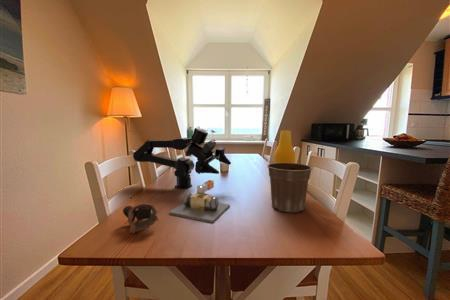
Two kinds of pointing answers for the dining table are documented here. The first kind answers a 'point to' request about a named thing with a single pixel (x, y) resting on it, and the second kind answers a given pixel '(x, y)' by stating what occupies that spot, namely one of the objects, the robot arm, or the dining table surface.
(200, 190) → the valve lever
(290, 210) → the plant pot
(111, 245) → the dining table surface
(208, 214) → the rubber mat
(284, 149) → the yellow bottle
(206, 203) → the valve body
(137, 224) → the pottery mug
